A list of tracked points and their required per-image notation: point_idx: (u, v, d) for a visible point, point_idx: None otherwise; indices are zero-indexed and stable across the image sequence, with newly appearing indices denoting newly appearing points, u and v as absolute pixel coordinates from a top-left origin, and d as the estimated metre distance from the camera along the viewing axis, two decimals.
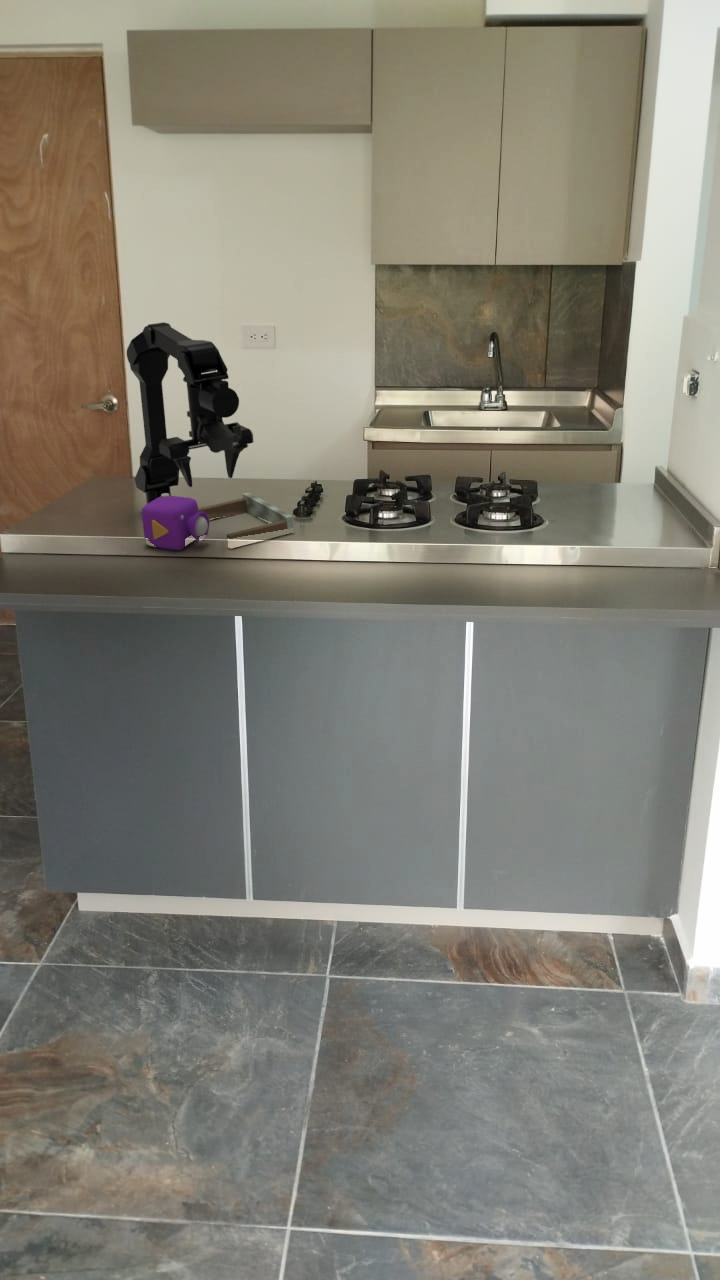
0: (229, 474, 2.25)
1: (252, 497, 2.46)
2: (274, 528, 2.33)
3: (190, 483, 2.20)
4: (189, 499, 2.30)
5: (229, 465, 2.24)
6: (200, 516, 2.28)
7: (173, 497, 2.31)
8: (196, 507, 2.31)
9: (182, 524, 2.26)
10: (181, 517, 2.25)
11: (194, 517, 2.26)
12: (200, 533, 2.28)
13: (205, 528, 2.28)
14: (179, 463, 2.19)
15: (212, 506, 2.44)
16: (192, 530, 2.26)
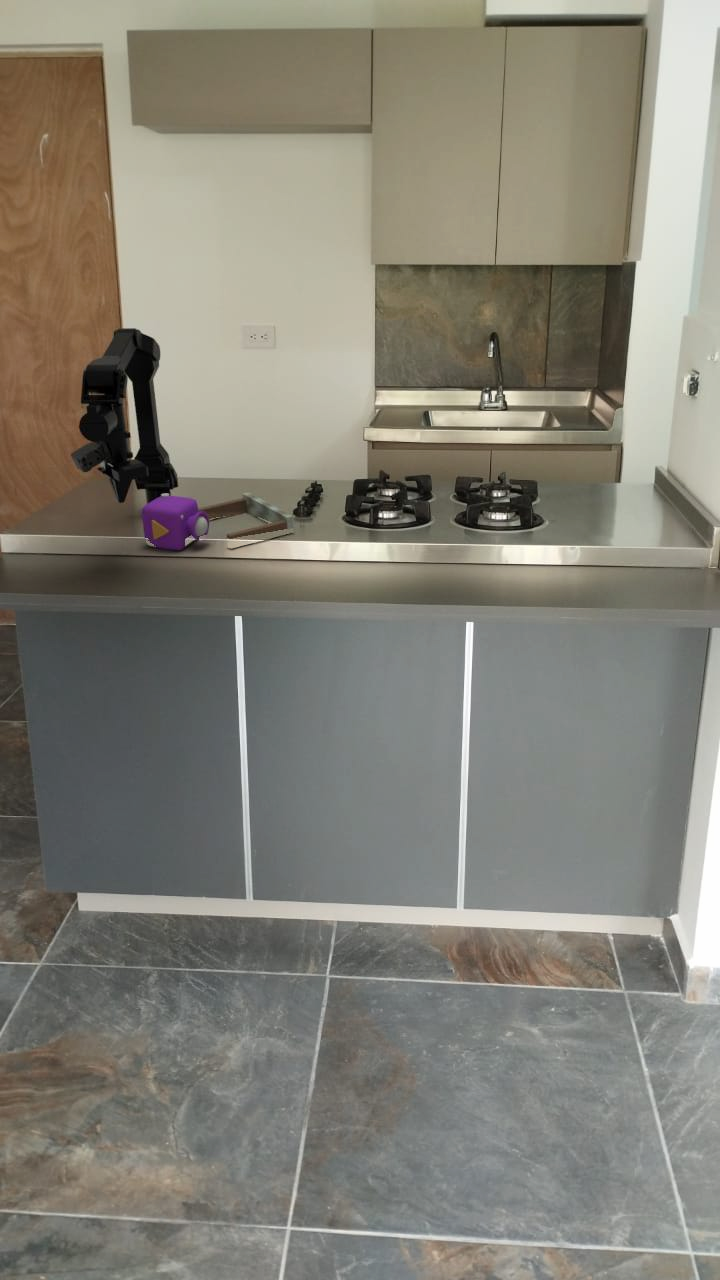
0: None
1: (252, 497, 2.46)
2: (274, 528, 2.33)
3: None
4: (189, 499, 2.30)
5: None
6: (200, 516, 2.28)
7: (173, 497, 2.31)
8: (196, 507, 2.31)
9: (182, 524, 2.26)
10: (181, 517, 2.25)
11: (194, 517, 2.26)
12: (200, 533, 2.28)
13: (205, 528, 2.28)
14: None
15: (212, 506, 2.44)
16: (192, 530, 2.26)
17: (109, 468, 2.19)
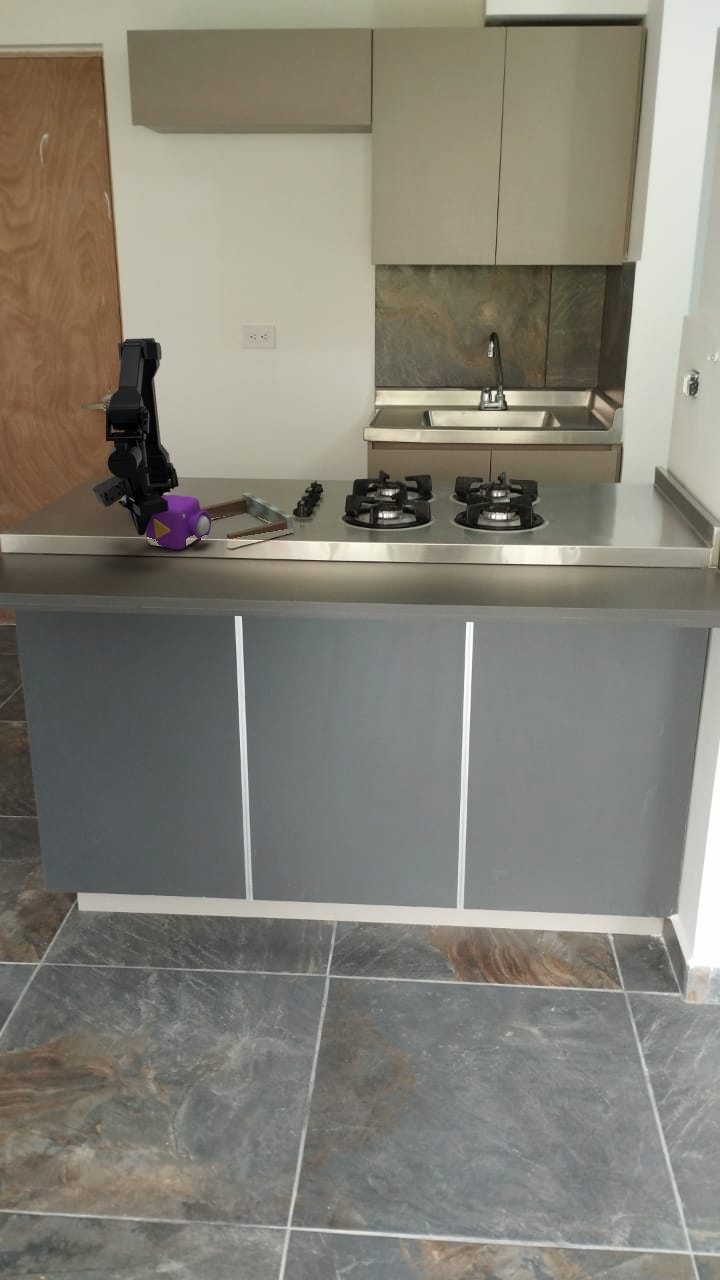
0: None
1: (252, 497, 2.46)
2: (274, 528, 2.33)
3: None
4: (191, 498, 2.30)
5: None
6: (202, 515, 2.28)
7: (175, 496, 2.31)
8: (198, 507, 2.31)
9: (184, 523, 2.27)
10: (183, 516, 2.26)
11: (196, 516, 2.26)
12: (202, 532, 2.28)
13: (207, 527, 2.28)
14: None
15: (212, 506, 2.44)
16: (194, 529, 2.26)
17: (130, 502, 2.24)
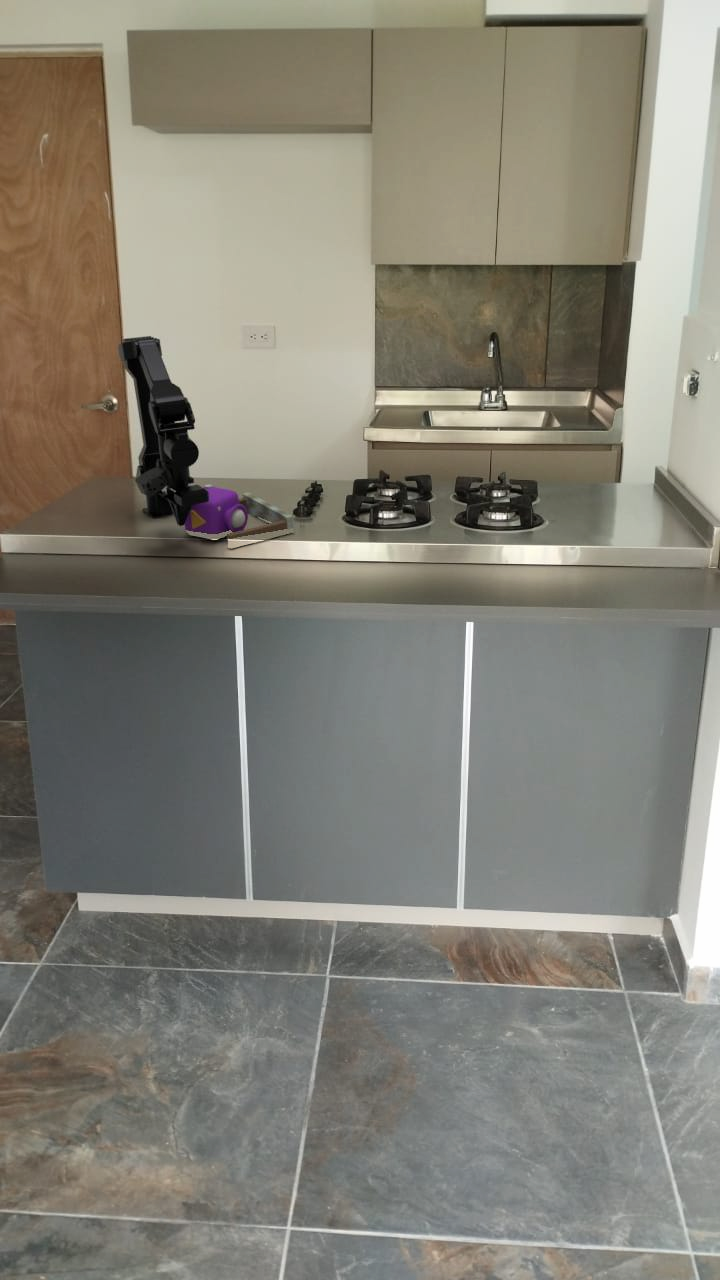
0: None
1: (252, 497, 2.46)
2: (274, 528, 2.33)
3: (176, 521, 2.31)
4: (230, 491, 2.34)
5: None
6: (238, 509, 2.31)
7: (215, 488, 2.35)
8: (236, 500, 2.34)
9: (219, 515, 2.30)
10: (218, 509, 2.29)
11: (231, 509, 2.30)
12: (236, 525, 2.31)
13: (241, 521, 2.31)
14: None
15: None
16: (228, 522, 2.30)
17: (170, 492, 2.28)
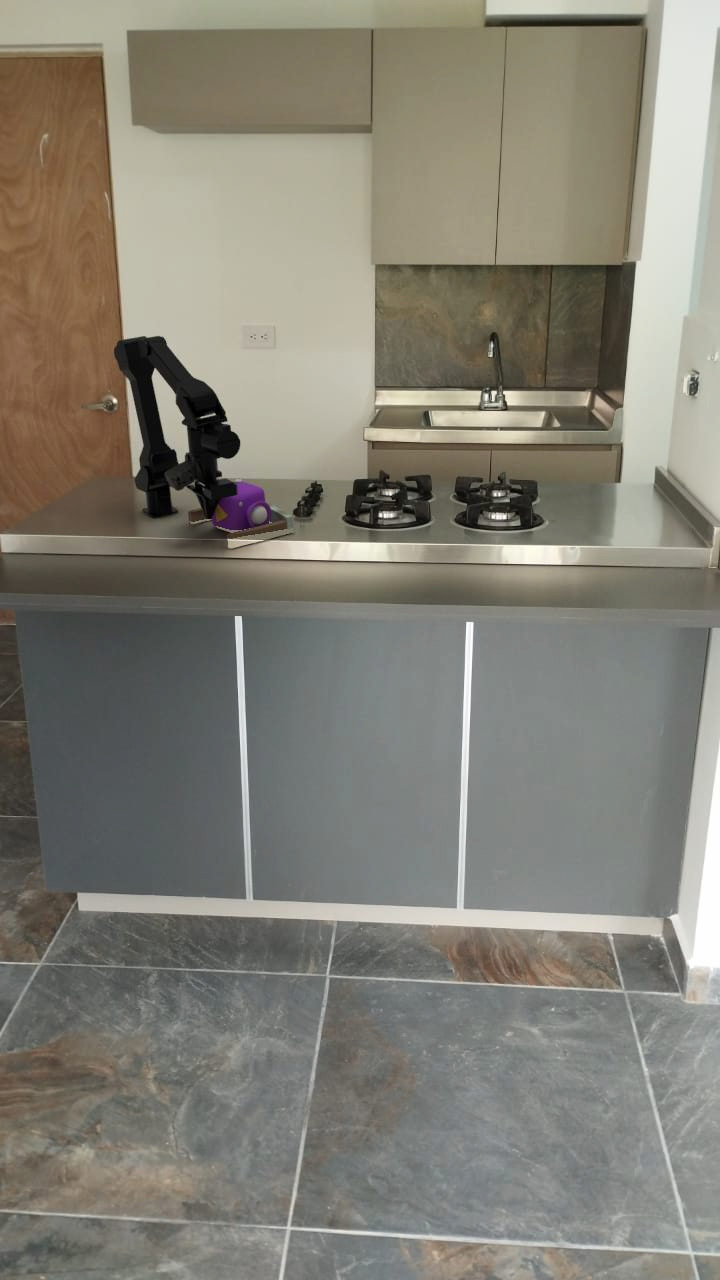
0: None
1: None
2: (274, 528, 2.33)
3: (204, 514, 2.34)
4: (256, 488, 2.35)
5: None
6: (260, 505, 2.33)
7: (244, 484, 2.38)
8: (261, 497, 2.36)
9: (240, 510, 2.32)
10: (239, 504, 2.32)
11: (251, 505, 2.31)
12: (256, 522, 2.33)
13: (262, 518, 2.33)
14: None
15: None
16: (247, 518, 2.31)
17: (198, 486, 2.32)
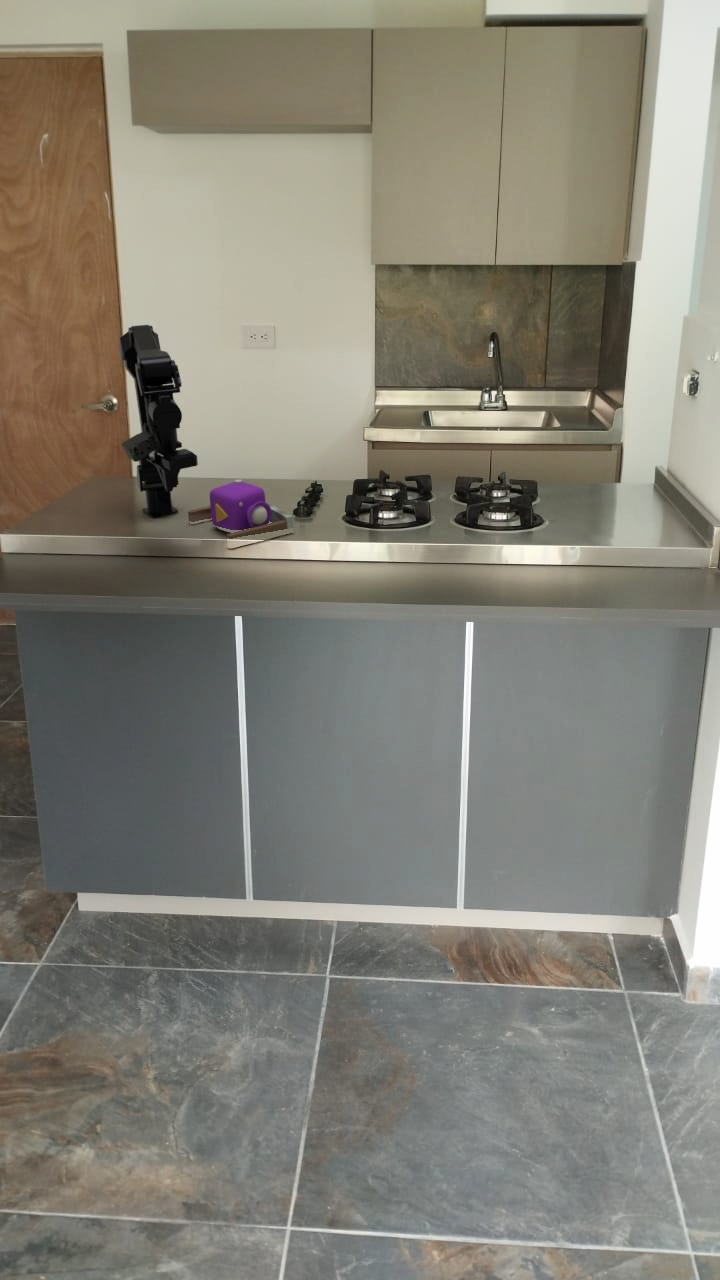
0: None
1: None
2: (274, 528, 2.33)
3: (165, 487, 2.27)
4: (256, 488, 2.35)
5: None
6: (260, 506, 2.33)
7: (244, 484, 2.38)
8: (262, 497, 2.36)
9: (241, 511, 2.33)
10: (239, 504, 2.32)
11: (252, 506, 2.31)
12: (257, 522, 2.33)
13: (262, 518, 2.33)
14: None
15: None
16: (248, 518, 2.32)
17: (158, 458, 2.25)
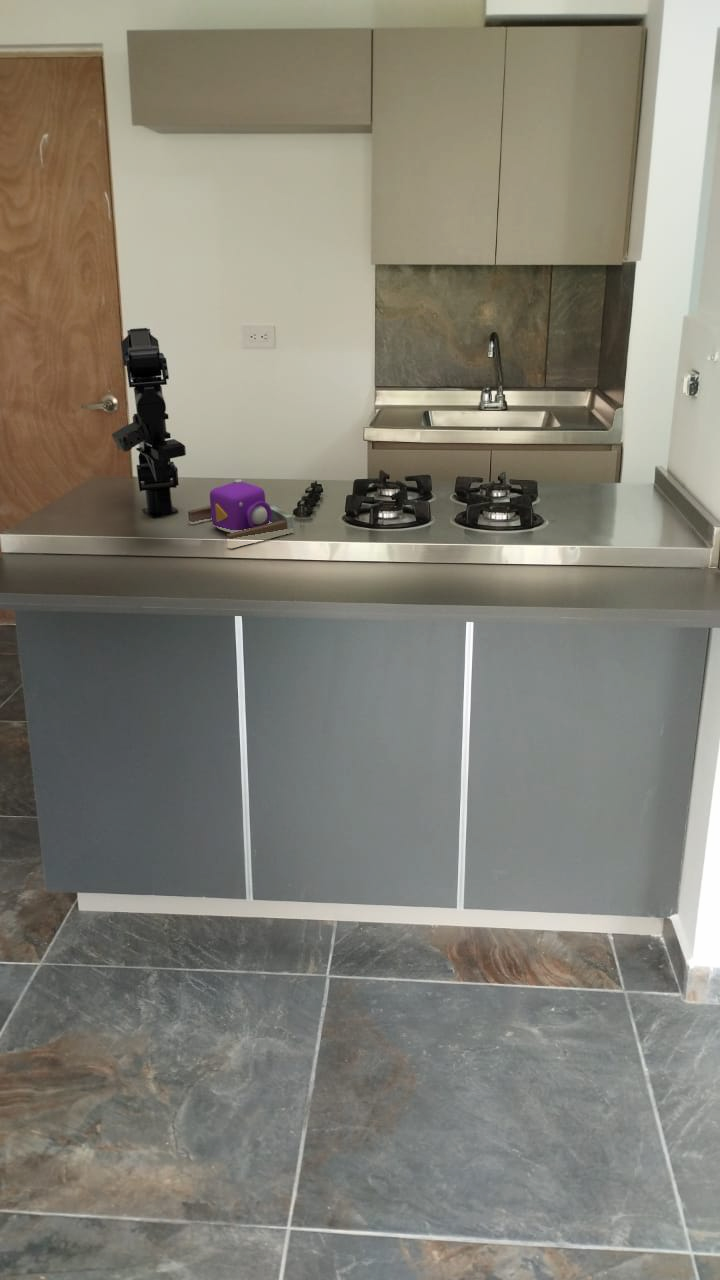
0: None
1: None
2: (274, 528, 2.33)
3: (154, 477, 2.33)
4: (256, 488, 2.35)
5: None
6: (260, 506, 2.33)
7: (244, 484, 2.38)
8: (262, 497, 2.36)
9: (241, 511, 2.33)
10: (239, 504, 2.32)
11: (252, 506, 2.31)
12: (257, 522, 2.33)
13: (262, 518, 2.33)
14: None
15: None
16: (248, 518, 2.32)
17: (147, 448, 2.30)
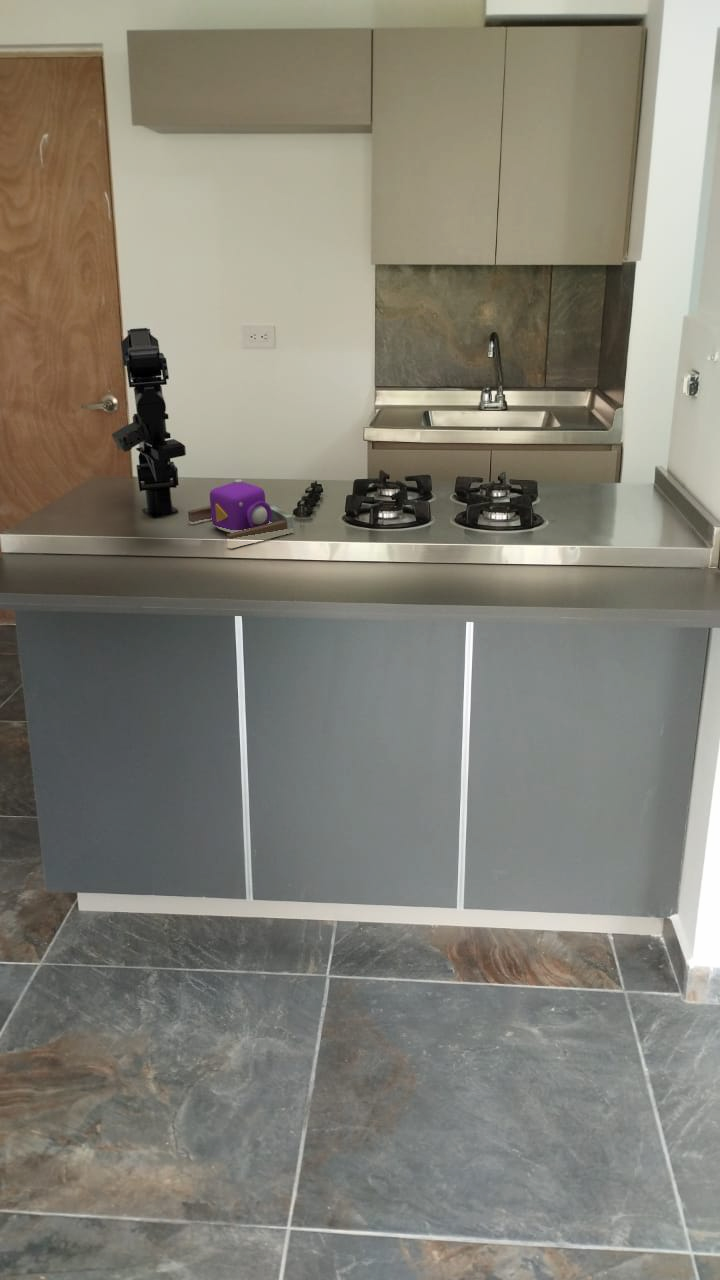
0: None
1: None
2: (274, 528, 2.33)
3: (154, 477, 2.33)
4: (256, 488, 2.35)
5: None
6: (260, 506, 2.33)
7: (244, 484, 2.38)
8: (262, 497, 2.36)
9: (241, 511, 2.33)
10: (239, 504, 2.32)
11: (252, 506, 2.31)
12: (257, 522, 2.33)
13: (262, 518, 2.33)
14: None
15: None
16: (248, 518, 2.32)
17: (147, 448, 2.30)
